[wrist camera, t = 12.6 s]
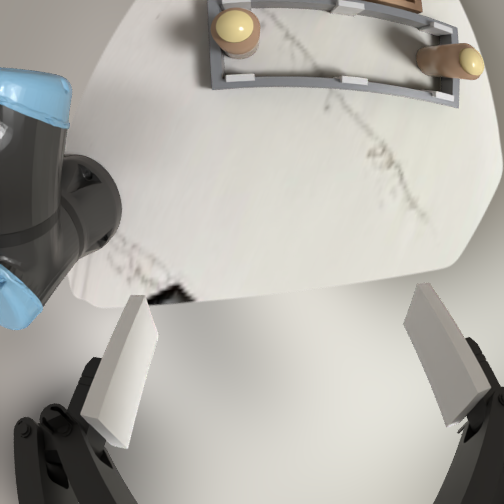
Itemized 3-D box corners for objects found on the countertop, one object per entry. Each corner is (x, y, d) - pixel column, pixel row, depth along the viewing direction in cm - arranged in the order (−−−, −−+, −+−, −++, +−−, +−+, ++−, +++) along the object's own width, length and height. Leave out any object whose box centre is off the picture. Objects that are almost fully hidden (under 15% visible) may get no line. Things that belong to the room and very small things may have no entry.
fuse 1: (222, 60, 29) (210, 49, 21) (220, 28, 27) (208, 7, 18) (259, 58, 29) (261, 46, 21) (257, 25, 27) (259, 3, 18)
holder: (215, 89, 31) (210, 89, 28) (210, 3, 25) (205, -7, 22) (446, 105, 30) (462, 109, 27) (445, 29, 24) (461, 27, 21)
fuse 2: (416, 73, 29) (460, 75, 20) (415, 43, 26) (459, 37, 18) (441, 79, 28) (487, 84, 20) (441, 50, 26) (486, 49, 18)
